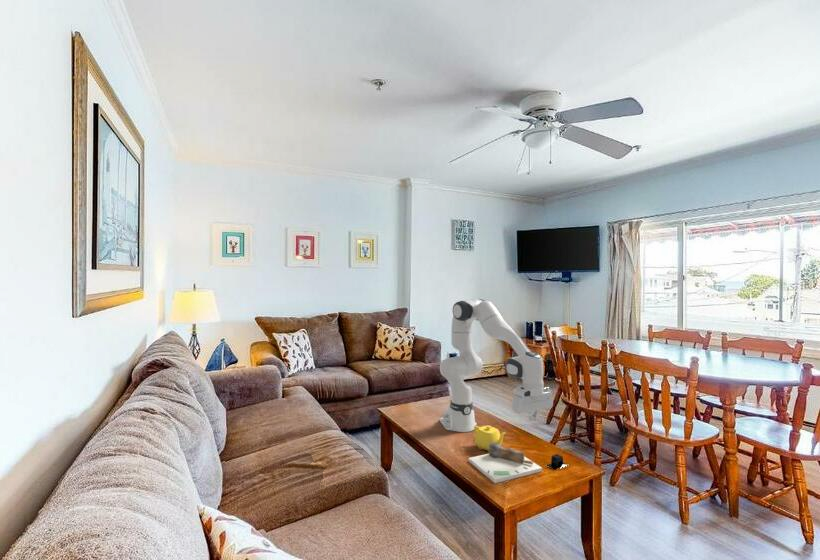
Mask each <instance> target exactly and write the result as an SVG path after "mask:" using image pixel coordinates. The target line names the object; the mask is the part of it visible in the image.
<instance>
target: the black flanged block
mask: <svg viewBox="0 0 820 560" xmlns="http://www.w3.org/2000/svg"><path fill="white" fill-rule="evenodd" d="M563 457H564V456H563V455H561V454H558V453H556V454H553V455H551V458H550V461H551V462H549V463H550V464H549V463H546V464H547V466H549V467H551V468H553V469H555V470H554V471H557V470H556V469H557V468H560V469H563V468H566V467H567V465H568V466H569V464H568V463H566V462H564V458H563ZM547 466H546V467H547ZM565 466H566V467H565ZM549 467H548V468H549ZM562 467H563V468H562ZM551 468H550V469H551ZM553 469H552V470H553Z"/></svg>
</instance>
